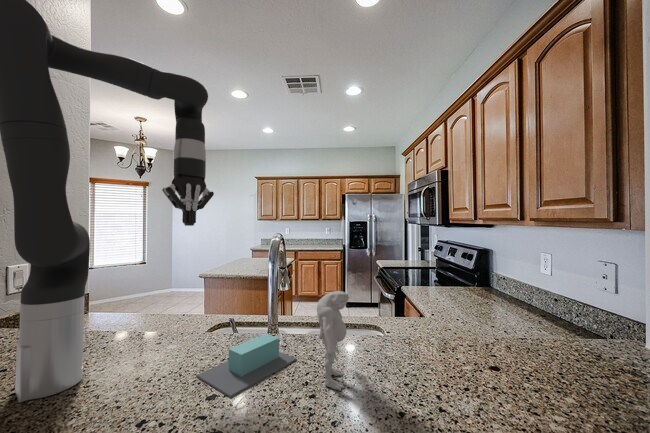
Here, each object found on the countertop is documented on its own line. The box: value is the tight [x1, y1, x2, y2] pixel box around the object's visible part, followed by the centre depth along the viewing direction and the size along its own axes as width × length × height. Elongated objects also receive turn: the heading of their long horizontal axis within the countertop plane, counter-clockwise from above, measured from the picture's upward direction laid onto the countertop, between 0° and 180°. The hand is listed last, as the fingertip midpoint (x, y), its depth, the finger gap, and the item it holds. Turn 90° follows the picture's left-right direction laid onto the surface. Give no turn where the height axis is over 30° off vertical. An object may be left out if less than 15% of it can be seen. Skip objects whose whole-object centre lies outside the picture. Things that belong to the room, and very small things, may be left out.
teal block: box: [228, 333, 280, 377], centre depth 63 cm, size 4×4×11 cm
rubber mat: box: [196, 351, 298, 399], centre depth 62 cm, size 18×12×1 cm, turn 143°
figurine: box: [316, 290, 350, 392], centre depth 57 cm, size 18×7×18 cm, turn 1°
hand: (189, 225), depth 72 cm, fingers closed
